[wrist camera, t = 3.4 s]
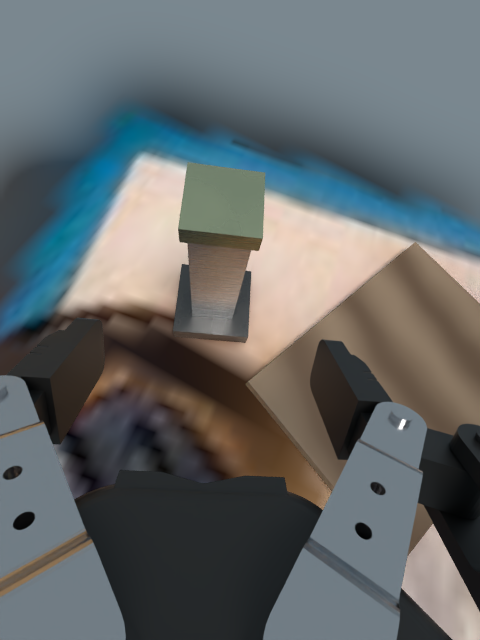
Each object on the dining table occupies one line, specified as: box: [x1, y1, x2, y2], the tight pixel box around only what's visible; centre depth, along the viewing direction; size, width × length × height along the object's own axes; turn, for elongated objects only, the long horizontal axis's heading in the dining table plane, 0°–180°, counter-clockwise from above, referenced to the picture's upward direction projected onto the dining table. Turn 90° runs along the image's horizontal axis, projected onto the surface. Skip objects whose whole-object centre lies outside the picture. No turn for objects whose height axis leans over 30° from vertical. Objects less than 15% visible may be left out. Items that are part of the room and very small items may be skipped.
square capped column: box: [173, 163, 265, 343], centre depth 20 cm, size 6×6×13 cm
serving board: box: [246, 242, 480, 556], centre depth 26 cm, size 20×15×2 cm
